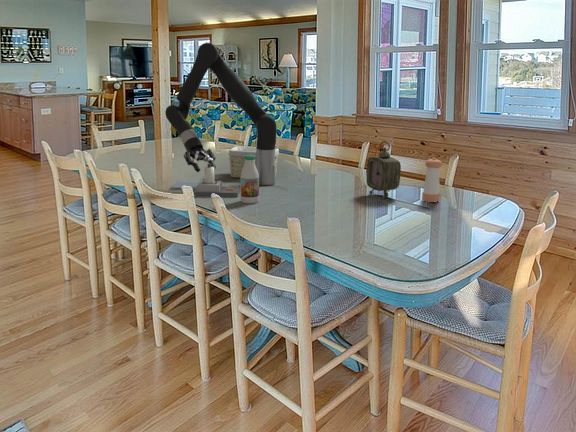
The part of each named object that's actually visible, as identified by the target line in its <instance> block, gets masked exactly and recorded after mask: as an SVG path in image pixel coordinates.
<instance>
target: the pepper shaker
mask: <svg viewBox="0 0 576 432" xmlns="http://www.w3.org/2000/svg"><path fill="white" fill-rule="evenodd" d="M442 166H443V162H442V161H441V160H440V159H438V158H436V157H432V158H429V159H427V160H426V161H425V167H426V173H425V180H424V183H423V192H422V195H421V196H422V197H421V201H422V200H423V202H424V201H426V202H425V203H429V202H434V201H438V200H439V201H440V196H441V195H440V186H441V185H440V172H441V171H440V170H441V167H442Z"/></svg>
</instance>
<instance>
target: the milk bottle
mask: <svg viewBox="0 0 576 432" xmlns="http://www.w3.org/2000/svg"><path fill="white" fill-rule="evenodd" d="M244 161H245V164H244V167H243V169H242V172H241V178H240V203H242V204H247V205H248V204H249V205H250V204H251V205H252V204H258V203H259V200H260V185H259V174H258V171H257V168H256V166H255V155H245V156H244Z"/></svg>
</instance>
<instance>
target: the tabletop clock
mask: <svg viewBox="0 0 576 432" xmlns="http://www.w3.org/2000/svg"><path fill="white" fill-rule="evenodd" d="M384 143H385V144H387V145H388V148H387V147H386V146H385V147H382V145H383V144H384ZM390 147H391V145H390V143H389V142H388V141H386V140H382V141H381V143H380V149H381V150H382V151H381V152H379V154H378V156H370V157H368V159H367V163H366V164H367V166H366V184H367V187H369V188H370V189H371V190H369V192H368V193H369V194H370V195H372V194H374V191H379V192H381V191H383V195H382V196H381V198H382V199H383V200H385V199H386V198H387V196H388V195H389V193H388V192H387V191H395V190H396V189H398V188H399V187H400V183H401V171H402V170H401V169H402V166H401V161H399V160H398V159H396V158H395V157H392V156H391V154H390V152H388V151H389V150H390Z"/></svg>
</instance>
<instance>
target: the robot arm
mask: <svg viewBox="0 0 576 432" xmlns="http://www.w3.org/2000/svg"><path fill="white" fill-rule="evenodd" d="M209 69H210V71H212V72H213V74H214V75H215V77H216V78H217V79H218V81H219V83H220V85H221V86H222V87H223V89H224V91H225V92H226V93H227V95H229V97H230V98H231V99H232V101H233V102H234V103H235V104H236V106H237V105H238V107H239V108H240V109H241V110H242V111H243V112H244V113H246V115H247V116H248V118H249V119H250V120H251V122H252V123H253V124H254V127H255V128H256V143H255V145H256V146H255V147H256V168H257V171H258V174H259V186H275V185H276V176H275V148H276V144H277V122H276V120H275V118H274V117H272V116H271V115H270V114H268V112H266V111H265V110H264V109H263V107H262V106H261V105H260V104H259V102H258V101H257V99H256V97H255V96H254V94H253V93H252V91H251V90H250V89H249V87H248V86H247V84H246V82H244V80H242V78H241V77H240V76H239V75H238V74H237V73H236V72H235V70H233V69H232V68H231V67H230V66H229V65H228V63H227V62H226V61H225V60H224V58H223V56H222V55H221V53H220V52H219V51H218V48H217V47H216V45H214V44H213V43H211V42H204V43H202V44H200V46H199V47H198V50H197V54H196V57H195V61H194V64H193V66H192V68H191V70H190V72H189V74H188V75H187V77H186V78H185V80H184V81H183V83H182V85H181V87H180V89H179V90H178V94H177V95H176V100H177V101H178V106H177V105H175V104H172V105H171V104H170V105H168V106H167V107H166V109H165V117H166V119H167V121H168V122H169V123H170V125H171V126H172V127H173V128H174V129H175V131H176V132H177V135H178V136H179V138H180V139H181V142H182V145H183V147H184V148H185V150H186V151H185V152H184V153H183V158H184V160H185V161H186V164H187V165H188V166H191V167H193V169H194V171H195V172H196V173H200V171H201V168H200V166H199V163H198V162H200V161H203V162H206V163H207V164H211V167H214V171H215V170H216V169H217V165H216V163H215V161H216V157H215V155H214V153H213V152H212V150H211V148H208V150H206V149H204V146H203V145H204V144H203V143H202V141H201V140H200V138H199V136H198V134H197V133H196V131H195V130H194V128H193V126H192V124H191V123H190V122H189V121H188V120H187V119H188V116H189V113H190V109H191V103H192V102H193V100H194V98H195V96H196V94H197V92H198V90H199V88H200V85H201V84H202V81H203V79H204V77H205V75H206V73H207V72H208V70H209Z"/></svg>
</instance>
